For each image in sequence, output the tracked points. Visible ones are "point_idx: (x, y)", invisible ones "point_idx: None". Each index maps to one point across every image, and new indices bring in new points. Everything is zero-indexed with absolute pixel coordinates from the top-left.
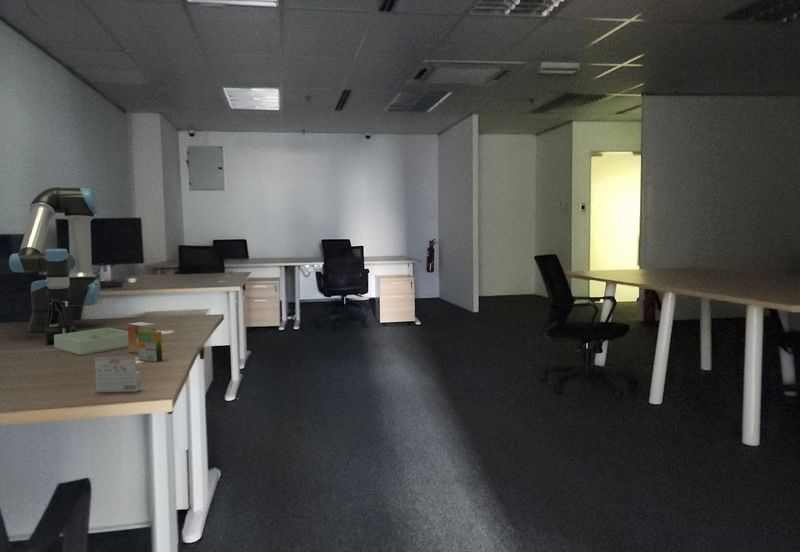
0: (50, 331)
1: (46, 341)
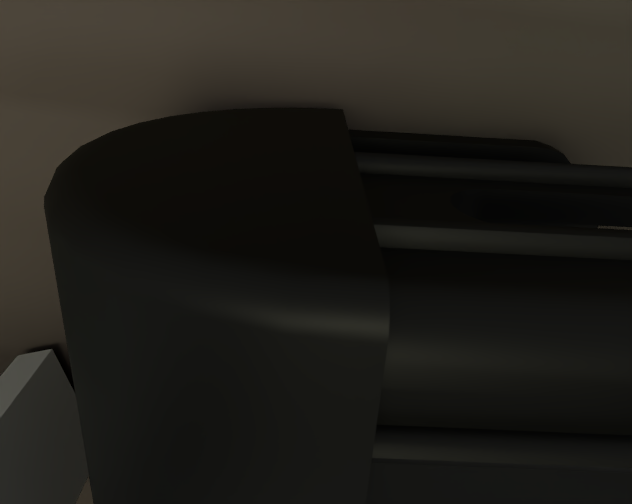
0: (71, 346)
1: (212, 112)
